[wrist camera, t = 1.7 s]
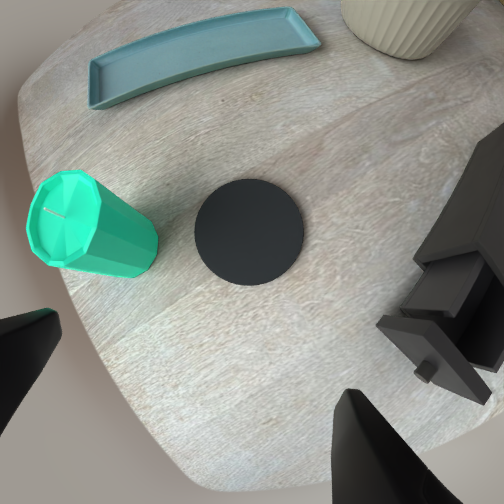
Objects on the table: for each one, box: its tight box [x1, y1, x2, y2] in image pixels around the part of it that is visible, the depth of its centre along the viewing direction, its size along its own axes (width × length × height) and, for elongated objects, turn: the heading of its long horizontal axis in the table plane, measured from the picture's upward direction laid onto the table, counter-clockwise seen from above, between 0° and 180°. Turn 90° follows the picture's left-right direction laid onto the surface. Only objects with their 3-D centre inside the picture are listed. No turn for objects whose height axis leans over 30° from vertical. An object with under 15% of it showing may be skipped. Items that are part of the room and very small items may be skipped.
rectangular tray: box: [88, 6, 321, 110], centre depth 26 cm, size 26×9×2 cm, turn 108°
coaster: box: [195, 179, 304, 286], centre depth 24 cm, size 9×9×1 cm
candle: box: [26, 170, 158, 278], centre depth 19 cm, size 6×6×12 cm
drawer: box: [376, 250, 504, 405], centre depth 19 cm, size 20×9×8 cm, turn 137°
